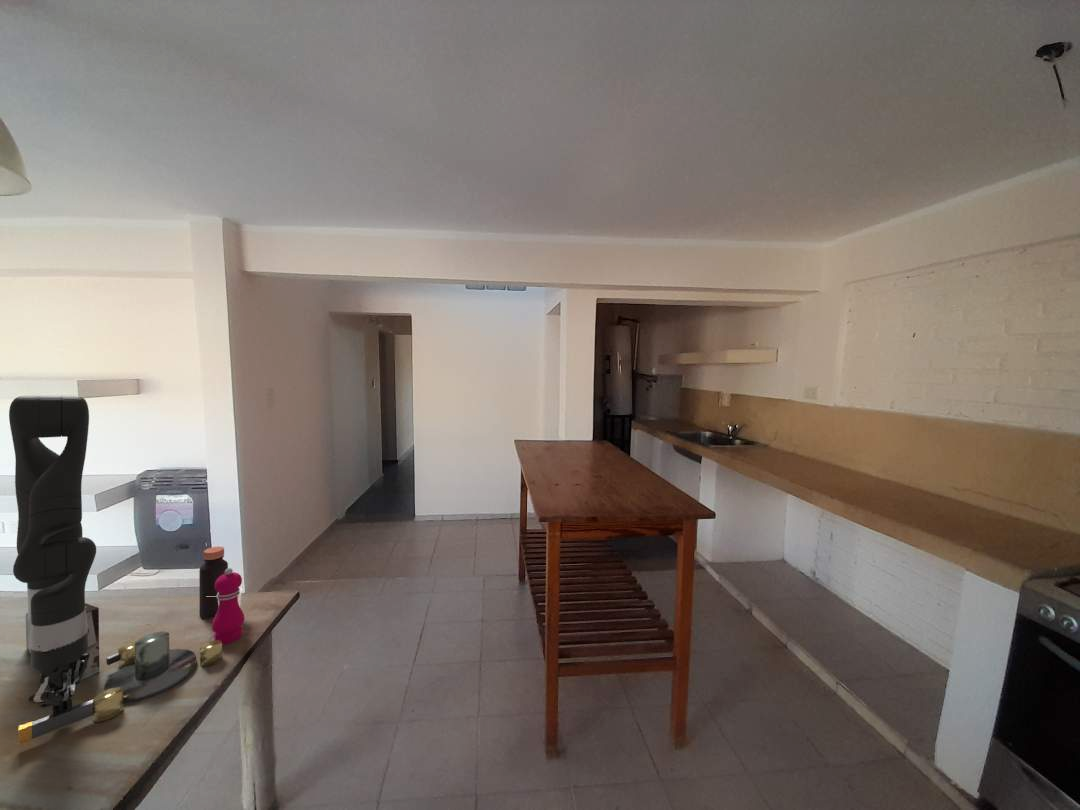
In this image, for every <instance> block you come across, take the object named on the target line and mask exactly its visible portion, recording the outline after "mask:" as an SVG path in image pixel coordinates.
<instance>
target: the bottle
mask: <svg viewBox="0 0 1080 810" xmlns="http://www.w3.org/2000/svg"><path fill="white" fill-rule="evenodd" d="M224 557H225V547H224V546H212V547H208V548H207V549H205V550H203V561H204V562H203V564H202V565H201V566H199V569H198V570H199V581H198V582H199V617H200V618H201V619H204V618H205V619H207V618H209V619H214V617H215V615H216V613H217V611H218V608H219V605H218V599H217V597H206V596H217V593H218V591H216V589H215V582H216V580H217V579H218V578H219V577H220V576H221V575H223V574H225V570H226V569H228V568H229V562H228V561H227V560H225V559H224Z"/></svg>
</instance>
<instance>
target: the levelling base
mask: <svg viewBox="0 0 1080 810" xmlns="http://www.w3.org/2000/svg"><path fill="white" fill-rule="evenodd" d="M117 651H118V652H116V653H114V654H112V655H110V656H107V657H106V665H107V666H110V665H112V664H114V663H116V662H118V663H117V665H118V668H119V670H117V671H116V672H114V673H113V674H112V675H111V676H110V677H109V678H108V680H106V682H105V684H104V687H103V692H104V691H106V690H108V689H112V688H117V687H120V688H122V689H123V704H128V703H135V702H139V701H143V700H147V699H150V698H152V697H153V698H154V697H156V696H158V695H160V694H163V693H164V692H167V691H169V690H171V689H173V688H174V687H176V686H178V685H179V684H181V683H182V682H184V680H186V679H187V678H188V677H189V676H190V675H192V673H193V672H194V670H195V669H196V665H197V655H196V653H195V652H194V651H192V650H189V649H185V648H177V649H176V648H175V649H170V633H169V632H168V631H158V632H157V631H156V632H153V633H149V634H146V635H144V636H142V637H141V638H139V639H137V640H136V641H135V640H134V641H132V642H129V643H126V644H123V645H122V646H121V647H119V648H118V650H117ZM222 659H223V644H222V641H220V640H215V638H214V637H211V638H210V639H209V641H208V642H206V643H204V644H202V645H201V646H200V649H199V665H200V666H201V667H203V668H204V667H206V668H207V667H212V666H213V665H216V664H217V663H219V662H221V660H222Z"/></svg>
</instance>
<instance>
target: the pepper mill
mask: <svg viewBox="0 0 1080 810" xmlns="http://www.w3.org/2000/svg"><path fill="white" fill-rule="evenodd" d="M242 583H243V577H242V575H241V574H240V573H238V572H235V571H233V568H230V567H228V569H226V570H225V574H223V575H221V576H220V577H219V578H218V579H217V580H216V582H215V589H216V591H218V593H217V599H218V600H219V608H218V611H217V613H216V615H215V617H214V618H213V621H212V623H211V630H212V632H213V633H214V635H213V638H215V640H220V641H222V645H226V644H227V645H228V644H230V643H233V642H235V641H237V640H239V639H240V638H241V637H242V635H243V627H242V626H243V624H244V622H245V615H244V612H243V609H242V608H241V605H240V606H239V604H238V595H239V594H240V592H239V590H240V588H239V587H241V585H242Z"/></svg>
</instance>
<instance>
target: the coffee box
mask: <svg viewBox="0 0 1080 810" xmlns="http://www.w3.org/2000/svg"><path fill="white" fill-rule="evenodd" d="M99 610H100V609H99V607H98V606H95V605H92V604H89V603H86V602H85V612H86V615H87V629H88V649H87V651H86V653H85V654H87V653H89V654H90V656H89V659H88V662H87V665H86V668H85V671H84V674H83V676H82V679H81V681H83V680H85V679H87V678H89V677H92V676H94V675H95V674H98V673H99V672H100V626H99V625H100V618H99V617H100V616H99V615H100V614H99Z"/></svg>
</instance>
